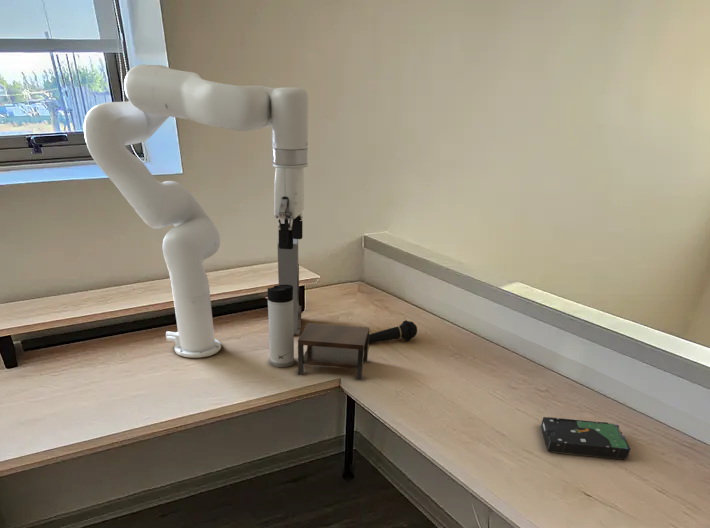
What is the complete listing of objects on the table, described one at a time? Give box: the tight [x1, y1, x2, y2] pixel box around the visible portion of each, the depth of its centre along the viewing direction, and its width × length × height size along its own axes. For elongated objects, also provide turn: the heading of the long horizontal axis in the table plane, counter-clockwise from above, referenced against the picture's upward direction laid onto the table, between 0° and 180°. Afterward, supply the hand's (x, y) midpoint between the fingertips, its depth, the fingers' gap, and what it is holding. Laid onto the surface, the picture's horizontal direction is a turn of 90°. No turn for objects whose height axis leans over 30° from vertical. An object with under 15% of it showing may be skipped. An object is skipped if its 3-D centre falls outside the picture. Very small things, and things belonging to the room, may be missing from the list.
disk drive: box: [540, 416, 632, 460], centre depth 112 cm, size 10×3×15 cm
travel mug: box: [267, 284, 295, 368], centre depth 140 cm, size 6×7×20 cm
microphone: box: [368, 320, 418, 345], centre depth 155 cm, size 6×6×20 cm
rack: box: [297, 322, 370, 381], centre depth 140 cm, size 16×12×9 cm
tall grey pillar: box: [277, 238, 302, 336], centre depth 159 cm, size 14×6×25 cm, turn 179°
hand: (291, 243), depth 128 cm, fingers open, 9 cm apart
